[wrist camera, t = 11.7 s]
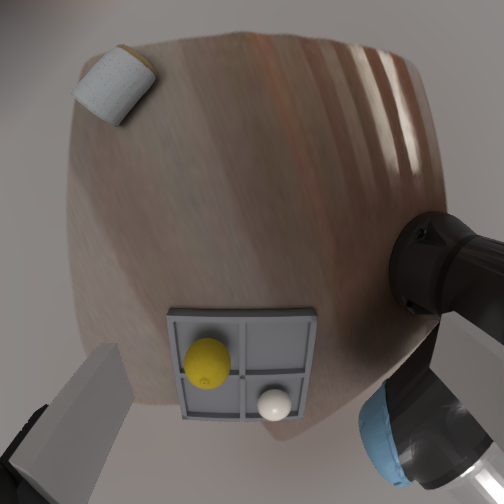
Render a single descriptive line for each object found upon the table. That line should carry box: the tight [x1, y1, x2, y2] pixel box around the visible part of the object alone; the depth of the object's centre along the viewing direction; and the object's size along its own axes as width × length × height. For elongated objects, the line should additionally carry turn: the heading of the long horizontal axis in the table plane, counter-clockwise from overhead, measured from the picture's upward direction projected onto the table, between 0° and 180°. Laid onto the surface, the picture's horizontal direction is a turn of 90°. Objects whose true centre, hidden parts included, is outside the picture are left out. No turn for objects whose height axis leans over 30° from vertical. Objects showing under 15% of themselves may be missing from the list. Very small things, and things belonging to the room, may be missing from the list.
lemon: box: [184, 338, 231, 389], centre depth 31 cm, size 6×6×8 cm
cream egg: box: [257, 389, 292, 421], centre depth 35 cm, size 5×5×5 cm
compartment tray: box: [166, 308, 318, 422], centre depth 36 cm, size 18×18×2 cm
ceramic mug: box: [71, 45, 157, 127], centre depth 24 cm, size 11×8×8 cm
